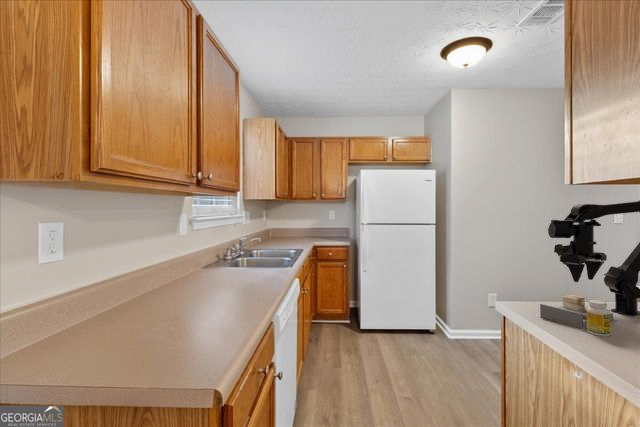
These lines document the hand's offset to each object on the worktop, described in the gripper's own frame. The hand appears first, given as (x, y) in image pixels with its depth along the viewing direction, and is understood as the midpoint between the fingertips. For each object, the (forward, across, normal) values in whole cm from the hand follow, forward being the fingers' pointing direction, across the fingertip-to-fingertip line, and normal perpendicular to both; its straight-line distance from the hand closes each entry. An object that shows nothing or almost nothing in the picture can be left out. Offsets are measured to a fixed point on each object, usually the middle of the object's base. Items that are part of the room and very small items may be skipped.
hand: (583, 280), depth 115 cm
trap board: (+11, +10, +3) cm, 16 cm away
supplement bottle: (+12, +20, +14) cm, 27 cm away
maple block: (+9, +6, 0) cm, 11 cm away
